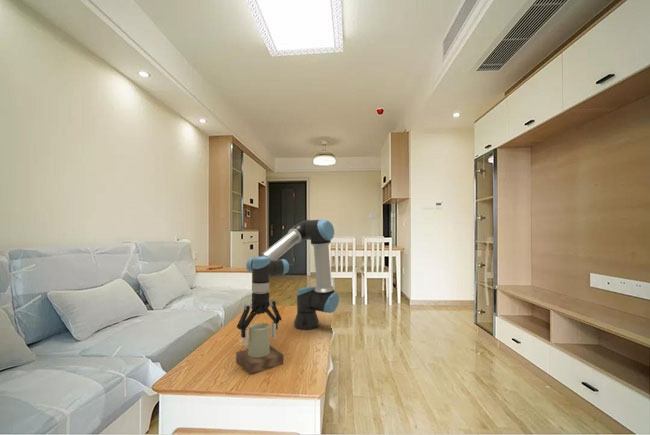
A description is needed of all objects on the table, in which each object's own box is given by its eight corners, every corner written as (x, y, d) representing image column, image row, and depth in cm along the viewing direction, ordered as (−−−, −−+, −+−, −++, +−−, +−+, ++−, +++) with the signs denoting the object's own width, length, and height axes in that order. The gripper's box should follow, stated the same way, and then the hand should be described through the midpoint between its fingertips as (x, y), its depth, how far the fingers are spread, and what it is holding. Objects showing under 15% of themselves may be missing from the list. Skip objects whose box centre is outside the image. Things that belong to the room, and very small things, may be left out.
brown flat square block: (266, 352, 132) (267, 343, 133) (283, 363, 121) (283, 354, 121) (236, 361, 123) (236, 351, 123) (250, 374, 111) (250, 364, 111)
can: (264, 358, 116) (265, 329, 117) (244, 356, 118) (244, 327, 119) (273, 349, 125) (273, 322, 126) (254, 348, 127) (254, 321, 128)
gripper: (280, 287, 134) (280, 332, 133) (229, 294, 118) (228, 345, 117) (289, 289, 129) (288, 336, 127) (236, 297, 113) (235, 351, 111)
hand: (259, 341), depth 122 cm, fingers open, 13 cm apart
